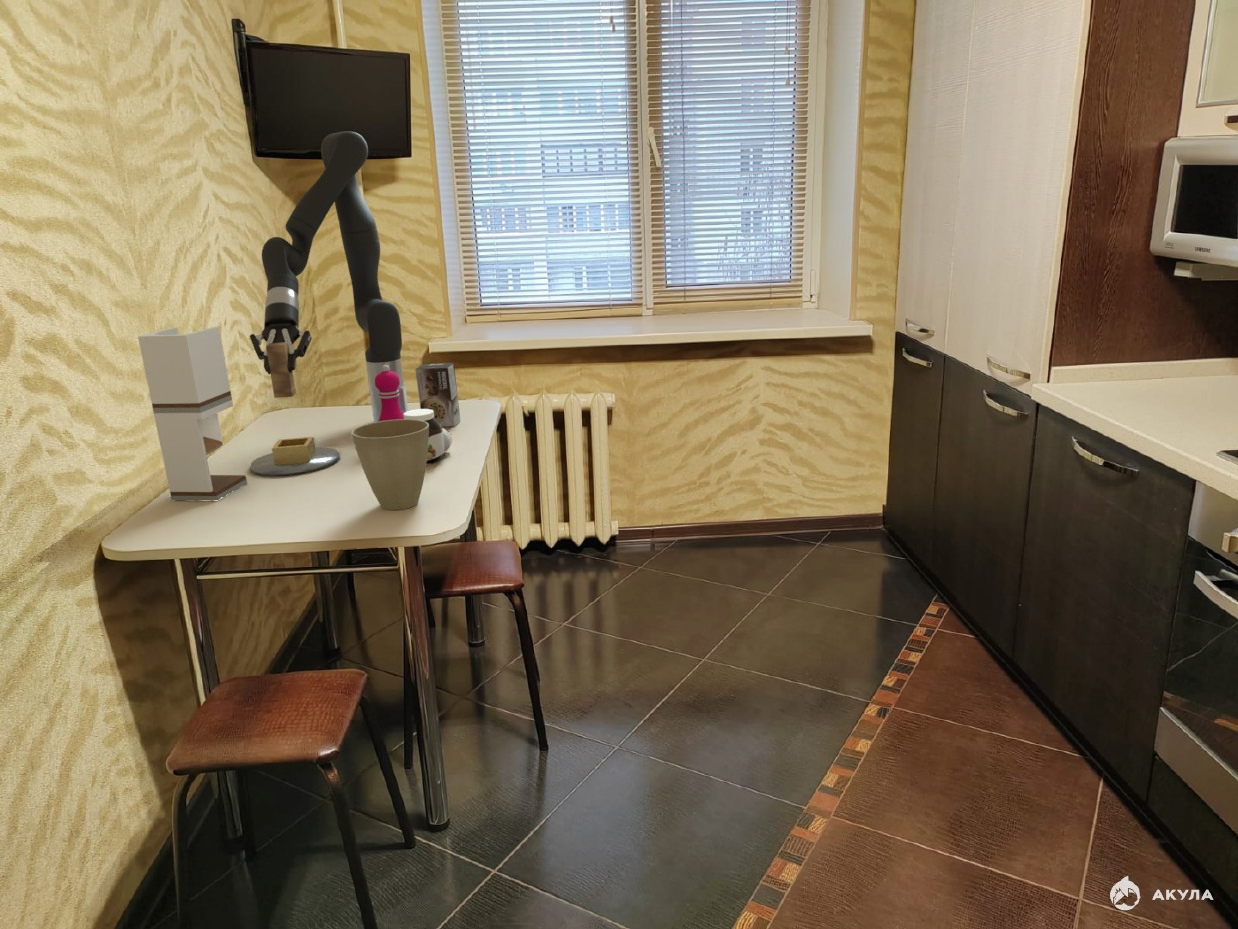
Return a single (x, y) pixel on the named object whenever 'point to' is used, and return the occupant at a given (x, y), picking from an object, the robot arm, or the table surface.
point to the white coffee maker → (189, 408)
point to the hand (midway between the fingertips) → (279, 371)
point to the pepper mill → (388, 394)
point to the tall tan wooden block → (280, 370)
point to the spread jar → (432, 433)
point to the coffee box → (439, 392)
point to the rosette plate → (295, 458)
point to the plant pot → (394, 459)
